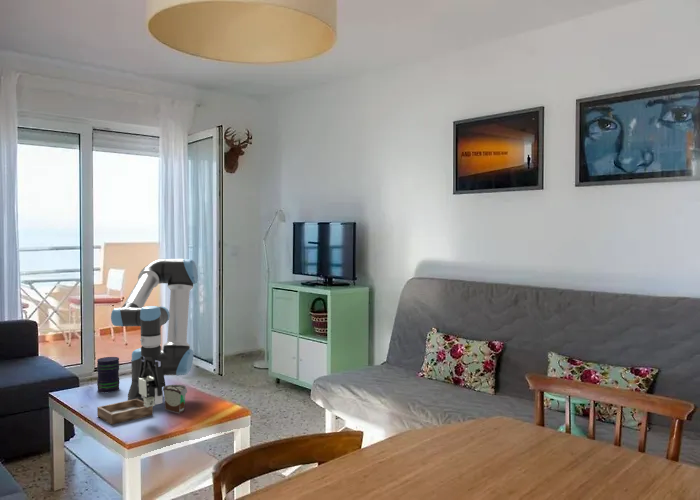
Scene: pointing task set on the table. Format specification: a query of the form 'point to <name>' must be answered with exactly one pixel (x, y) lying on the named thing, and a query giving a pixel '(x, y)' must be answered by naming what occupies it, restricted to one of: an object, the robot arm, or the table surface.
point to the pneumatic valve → (147, 390)
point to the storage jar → (108, 374)
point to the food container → (175, 398)
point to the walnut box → (124, 411)
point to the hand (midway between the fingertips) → (151, 400)
